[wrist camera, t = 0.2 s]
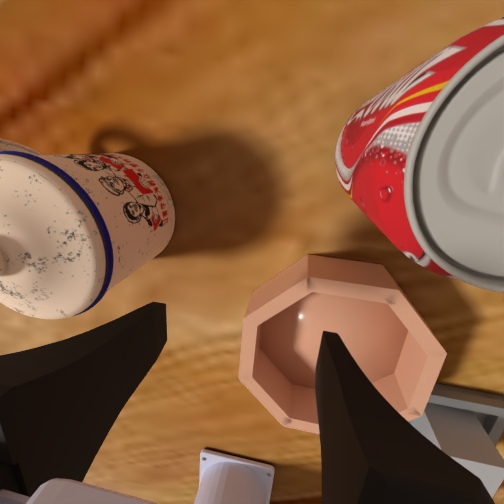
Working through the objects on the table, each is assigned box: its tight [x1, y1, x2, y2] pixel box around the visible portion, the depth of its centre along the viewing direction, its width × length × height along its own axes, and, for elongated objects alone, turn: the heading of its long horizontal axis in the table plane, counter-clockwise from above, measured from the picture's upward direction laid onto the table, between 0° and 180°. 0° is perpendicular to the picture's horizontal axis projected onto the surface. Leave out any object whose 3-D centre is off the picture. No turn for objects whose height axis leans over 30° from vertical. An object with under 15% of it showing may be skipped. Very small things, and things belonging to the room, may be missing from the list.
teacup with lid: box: [0, 139, 175, 319], centre depth 17 cm, size 12×9×12 cm
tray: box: [408, 383, 504, 445], centre depth 25 cm, size 14×8×1 cm, turn 175°
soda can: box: [335, 17, 504, 292], centre depth 12 cm, size 7×7×13 cm
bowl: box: [239, 254, 447, 434], centre depth 22 cm, size 13×13×4 cm
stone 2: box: [410, 402, 504, 497], centre depth 22 cm, size 4×4×4 cm
